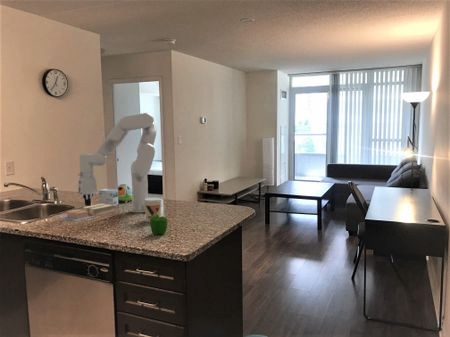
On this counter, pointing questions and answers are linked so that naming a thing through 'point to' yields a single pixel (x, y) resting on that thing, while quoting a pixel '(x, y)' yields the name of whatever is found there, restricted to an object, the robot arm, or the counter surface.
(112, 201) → the light bulb box
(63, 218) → the mat
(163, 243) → the counter surface
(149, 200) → the coffee cup
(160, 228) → the bell pepper
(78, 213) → the tile
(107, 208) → the deck
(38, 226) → the counter surface
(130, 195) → the turtle holder
